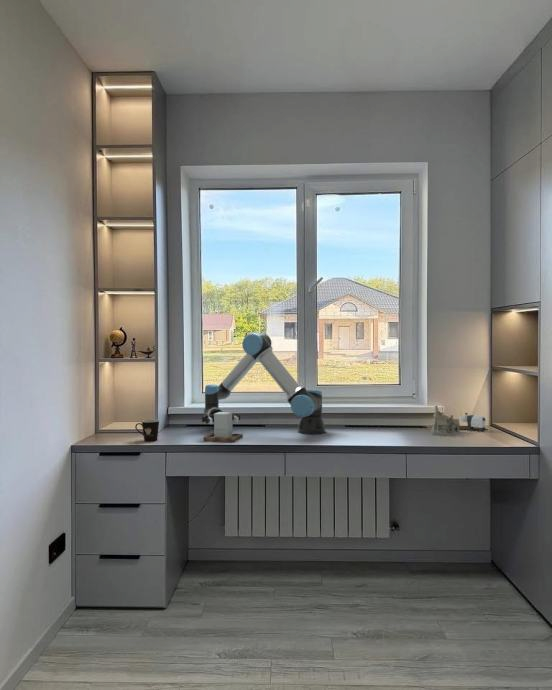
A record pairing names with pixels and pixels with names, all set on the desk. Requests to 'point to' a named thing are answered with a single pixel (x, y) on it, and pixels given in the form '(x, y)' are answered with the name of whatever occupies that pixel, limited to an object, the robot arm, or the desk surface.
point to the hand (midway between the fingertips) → (224, 420)
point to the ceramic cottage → (444, 424)
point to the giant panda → (474, 421)
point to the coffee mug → (149, 430)
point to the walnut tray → (216, 439)
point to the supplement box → (223, 424)
